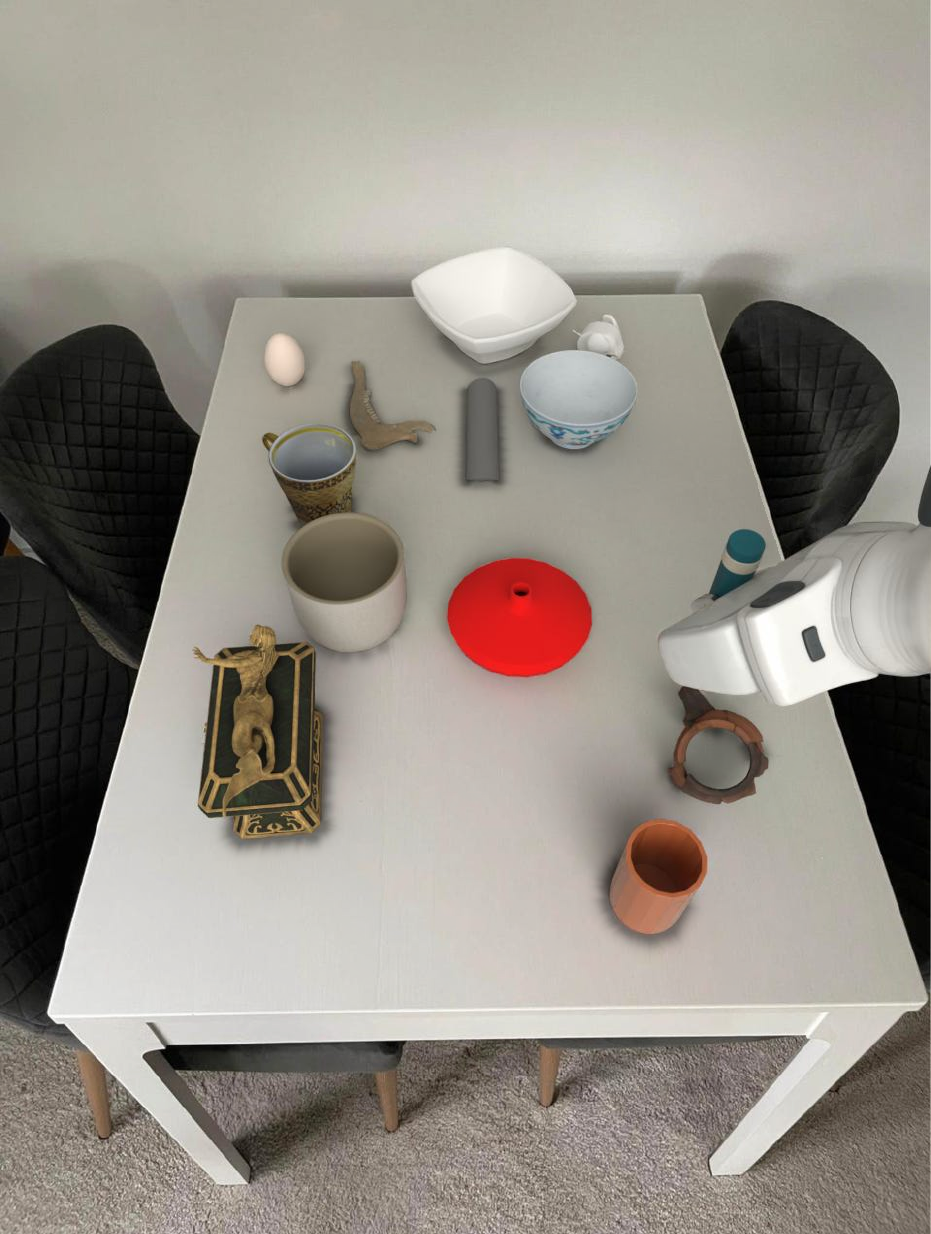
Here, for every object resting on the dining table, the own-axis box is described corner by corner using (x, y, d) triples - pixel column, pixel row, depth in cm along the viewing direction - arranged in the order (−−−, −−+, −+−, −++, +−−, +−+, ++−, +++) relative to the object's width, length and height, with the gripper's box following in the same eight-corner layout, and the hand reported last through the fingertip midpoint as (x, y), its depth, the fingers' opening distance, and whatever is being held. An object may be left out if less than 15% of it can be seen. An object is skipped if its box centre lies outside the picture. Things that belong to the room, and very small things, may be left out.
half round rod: (465, 485, 105) (465, 475, 103) (467, 388, 116) (467, 377, 115) (499, 485, 105) (499, 475, 103) (497, 388, 116) (497, 377, 115)
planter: (361, 560, 97) (351, 494, 89) (433, 620, 92) (429, 556, 83) (276, 619, 92) (256, 555, 84) (347, 686, 87) (333, 626, 78)
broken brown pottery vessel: (784, 774, 81) (791, 774, 73) (700, 821, 83) (698, 826, 75) (716, 671, 85) (716, 661, 77) (637, 717, 86) (628, 712, 79)
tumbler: (693, 887, 74) (720, 846, 66) (662, 948, 71) (686, 913, 63) (629, 849, 76) (648, 805, 68) (596, 907, 73) (612, 868, 65)
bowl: (397, 330, 125) (393, 278, 118) (509, 288, 131) (511, 237, 124) (470, 404, 114) (471, 352, 108) (588, 355, 121) (595, 302, 114)
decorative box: (236, 702, 86) (184, 584, 70) (329, 695, 86) (297, 576, 70) (219, 893, 74) (151, 803, 58) (327, 884, 74) (288, 792, 59)
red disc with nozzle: (461, 566, 97) (461, 525, 91) (595, 584, 95) (603, 544, 89) (434, 677, 88) (431, 639, 82) (581, 700, 86) (589, 663, 80)
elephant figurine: (614, 379, 118) (620, 343, 113) (562, 365, 120) (566, 329, 115) (629, 353, 121) (635, 317, 116) (578, 339, 123) (582, 304, 118)
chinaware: (628, 475, 106) (638, 428, 100) (512, 466, 107) (515, 419, 101) (628, 400, 115) (637, 353, 108) (521, 393, 116) (524, 346, 110)
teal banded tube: (724, 649, 70) (772, 538, 59) (711, 671, 69) (758, 561, 58) (695, 635, 71) (737, 522, 60) (682, 656, 70) (722, 545, 59)
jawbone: (382, 470, 107) (380, 458, 106) (304, 392, 117) (300, 380, 116) (438, 438, 110) (436, 426, 108) (357, 364, 120) (354, 352, 118)
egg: (271, 372, 119) (260, 323, 113) (309, 370, 119) (300, 322, 113) (268, 396, 116) (256, 348, 109) (307, 394, 116) (298, 346, 109)
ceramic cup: (380, 504, 103) (373, 443, 95) (330, 554, 98) (317, 494, 90) (301, 465, 107) (287, 403, 99) (249, 511, 102) (230, 450, 94)
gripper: (956, 491, 55) (798, 508, 67) (731, 627, 48) (603, 616, 61) (980, 577, 56) (821, 577, 69) (765, 721, 49) (633, 691, 62)
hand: (718, 596), depth 65 cm, fingers closed on teal banded tube, 2 cm apart
